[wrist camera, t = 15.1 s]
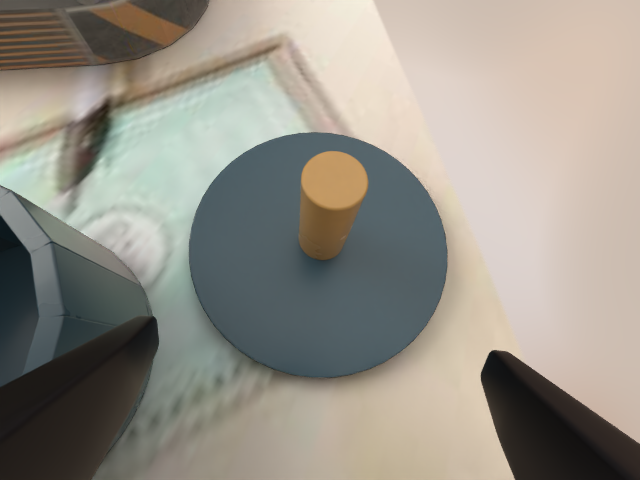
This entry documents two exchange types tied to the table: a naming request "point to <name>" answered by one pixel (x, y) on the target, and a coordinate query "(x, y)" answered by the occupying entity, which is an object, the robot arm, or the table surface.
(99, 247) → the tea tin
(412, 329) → the lid
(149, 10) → the cage light
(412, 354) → the table surface
